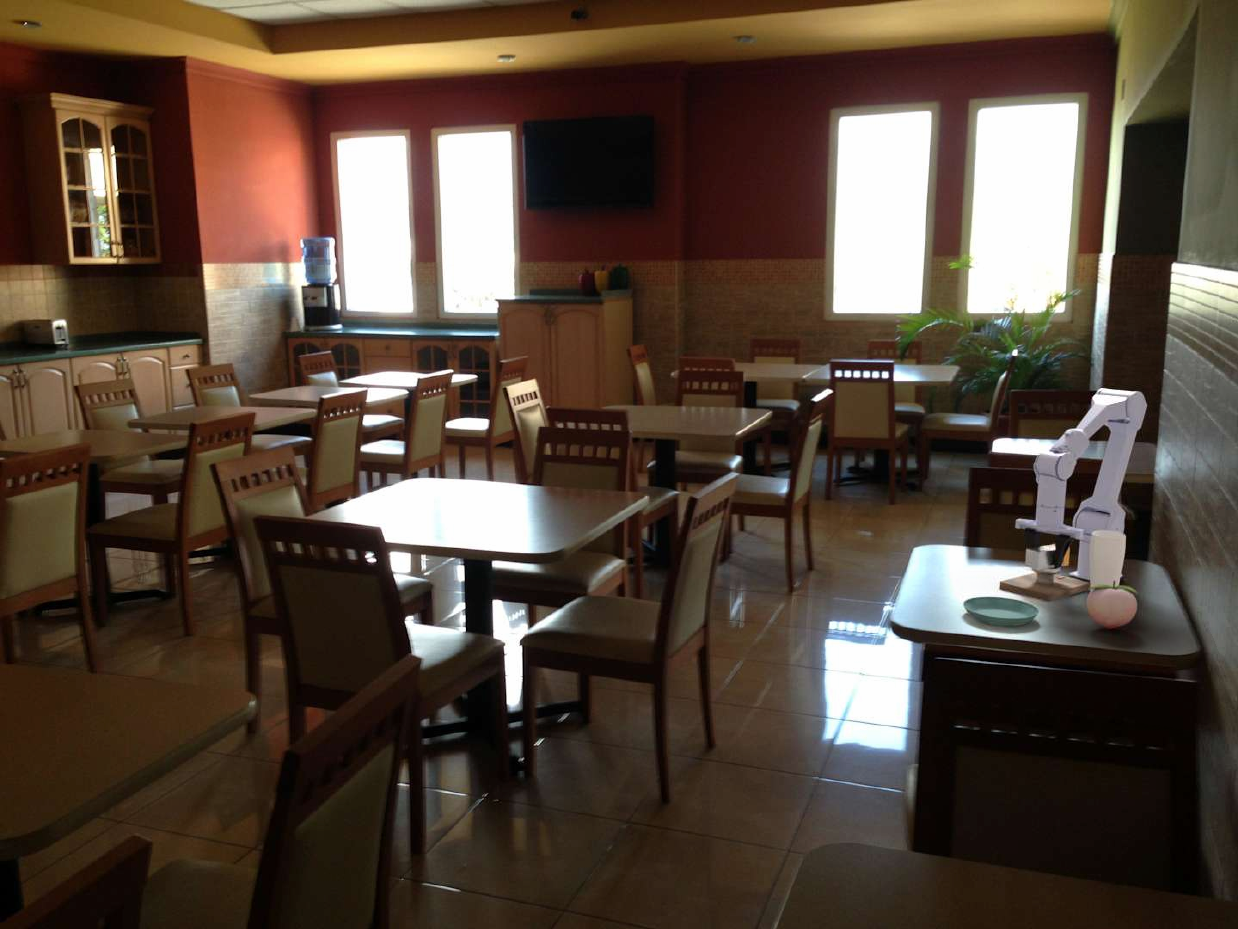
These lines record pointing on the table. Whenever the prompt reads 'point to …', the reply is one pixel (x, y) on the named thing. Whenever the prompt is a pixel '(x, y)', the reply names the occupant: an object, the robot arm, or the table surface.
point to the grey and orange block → (1044, 559)
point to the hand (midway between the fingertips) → (1045, 564)
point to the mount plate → (1044, 586)
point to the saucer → (1000, 611)
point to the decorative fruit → (1111, 604)
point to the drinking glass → (1106, 557)
